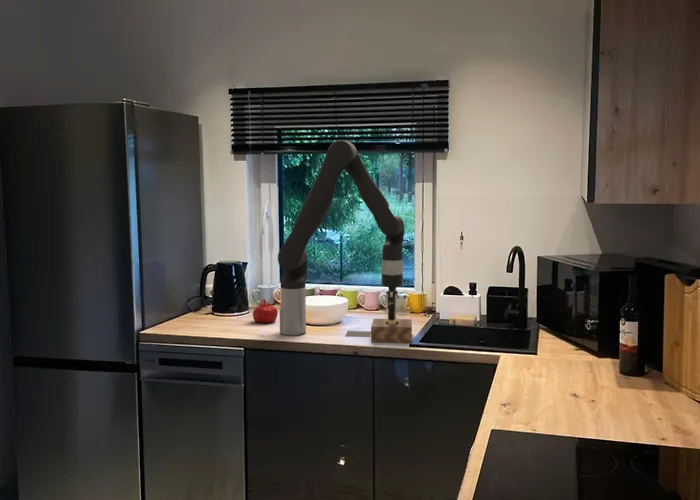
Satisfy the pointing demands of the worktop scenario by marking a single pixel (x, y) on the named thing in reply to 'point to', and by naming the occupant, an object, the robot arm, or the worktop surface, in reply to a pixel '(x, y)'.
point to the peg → (392, 320)
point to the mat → (358, 334)
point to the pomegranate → (265, 313)
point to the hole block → (391, 331)
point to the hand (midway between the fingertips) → (391, 317)
